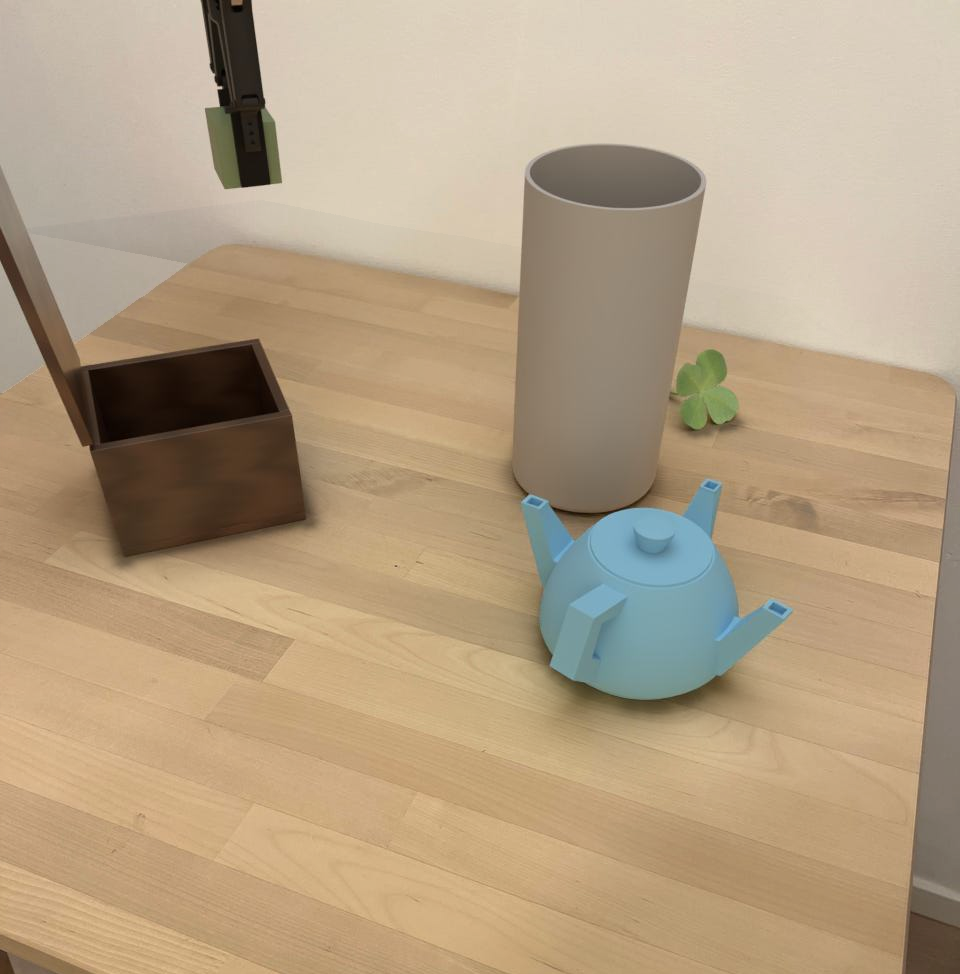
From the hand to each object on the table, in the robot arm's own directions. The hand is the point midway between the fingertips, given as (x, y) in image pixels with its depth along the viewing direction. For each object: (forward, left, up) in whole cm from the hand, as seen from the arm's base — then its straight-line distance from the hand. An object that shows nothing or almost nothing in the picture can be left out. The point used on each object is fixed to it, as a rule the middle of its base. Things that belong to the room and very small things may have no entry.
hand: (249, 172), depth 93 cm
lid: (+29, -19, +3) cm, 35 cm away
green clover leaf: (+31, +35, -15) cm, 49 cm away
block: (0, 0, 0) cm, 0 cm away
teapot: (+57, +15, -15) cm, 61 cm away
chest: (+29, -12, -15) cm, 35 cm away
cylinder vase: (+37, +20, -15) cm, 45 cm away
